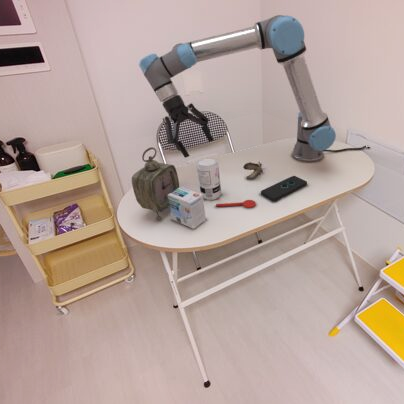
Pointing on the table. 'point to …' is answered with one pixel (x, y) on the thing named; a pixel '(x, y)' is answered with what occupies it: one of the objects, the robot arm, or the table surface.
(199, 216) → the light bulb box
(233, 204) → the red spoon
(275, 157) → the table surface
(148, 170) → the tabletop clock
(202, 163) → the supplement can
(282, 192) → the smart home device
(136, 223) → the table surface
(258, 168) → the eagle figurine
